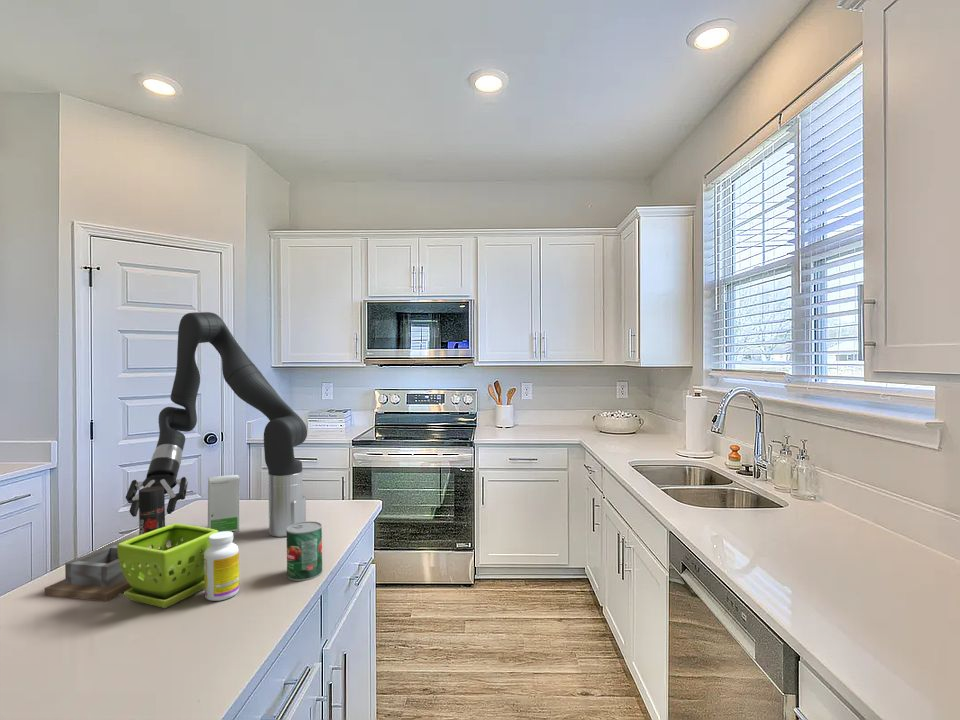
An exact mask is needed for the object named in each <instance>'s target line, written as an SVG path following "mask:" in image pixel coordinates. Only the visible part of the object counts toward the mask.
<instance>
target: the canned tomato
mask: <svg viewBox="0 0 960 720" xmlns="http://www.w3.org/2000/svg"><path fill="white" fill-rule="evenodd" d="M322 526H323V525H322V523H321V522H318V521H311V520H310V521H307V520H306V522H299V523H295V524H292V525H290V526H288V527H287V528H286V532H287V536H285V537H286V577H287V579H289V580H290V581H295V582H305V581H309V580H314V579H316V578H318V577H320V576H321V575H322V574H323V572H324V571H323V533H322V532H323V530H322V529H323V528H322Z"/></svg>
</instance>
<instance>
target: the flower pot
mask: <svg viewBox="0 0 960 720" xmlns="http://www.w3.org/2000/svg"><path fill="white" fill-rule="evenodd" d="M217 532H218V531H217V530H214V529H210V528H208V527H203V526H197V525H190V524H184V523H183V524H182V523H172V524H169V525H165V527H162V528H159V529H156V530H153V531H150V532H148V533H145V534H142V535H139V534H138V535H136V536H134V537H131V538H129V539H127V540H124V541H122V542H118V543H117V552H118V558H119V563H120V566H121V569H122V572H123V574H124V576H125V578H126V580H127V581H128V583H129V584H130V585H131V587H132V588H131V589H129V590H127V591H125V592H124V593H123V594H124V595H125V597H127V598H128V599H130V600H132V601H134V602H139V603H142V604H146V605H150V606H155V607H159V608H163V609H166V608H169V607H170V606H172V605H174V604H177V603H179V602H181V601H183V600H185V599H186V598H188V597H191V596H192V595H195V594H196V593H198V592H200V591H205V586H204V552H205V550H206V549H207V548H208V547H210V544H209V536H210V535H211V534H214V533H217ZM167 542H170V545H171V546H170V547H169V548H167V546H166V545H167ZM149 546H151V547H152V549H151V548H147V547H149ZM159 547H160V550H158V548H159ZM139 563H140V564H139Z"/></svg>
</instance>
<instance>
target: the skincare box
mask: <svg viewBox="0 0 960 720" xmlns="http://www.w3.org/2000/svg"><path fill="white" fill-rule="evenodd" d="M207 481H208V482H207V484H208V485H207V488H208V489H207V528H210V529H214V530H217V531H218V532H223V531H230V532H232V531H235V532H240V494H241V493H240V492H241V491H240V482H241V481H240V476H239V474H230V475H220V476H218V475H217V476H209V477H207Z"/></svg>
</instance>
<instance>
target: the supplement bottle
mask: <svg viewBox="0 0 960 720" xmlns="http://www.w3.org/2000/svg"><path fill="white" fill-rule="evenodd" d="M233 540H234V532H230V531H223V532H217V533H214V534H211V535H210V536H209V544H210V547H208V548H207V549H206V550H205V552H204V586H205V588H204V598H205V599H206V600H207V601H211V602H212V601H213V602H219V601H224V600H228V599H230V598H232V597H234V596H235V595H237V594H238V593H239V591H240V563H239V562H240V561H239V560H240V557H239V556H240V554H239V552H240V551H239V547H238V545H237V544H236V543H234V542H233Z"/></svg>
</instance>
